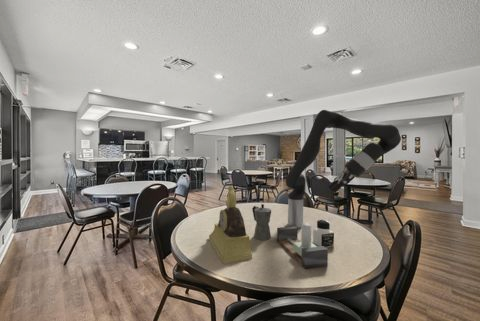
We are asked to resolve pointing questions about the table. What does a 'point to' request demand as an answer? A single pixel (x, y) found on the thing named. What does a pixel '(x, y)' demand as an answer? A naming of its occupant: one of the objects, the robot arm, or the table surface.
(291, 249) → the rail
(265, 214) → the coffeepot
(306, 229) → the carriage
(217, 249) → the decorative clock
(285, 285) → the table surface
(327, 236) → the medicine bottle
